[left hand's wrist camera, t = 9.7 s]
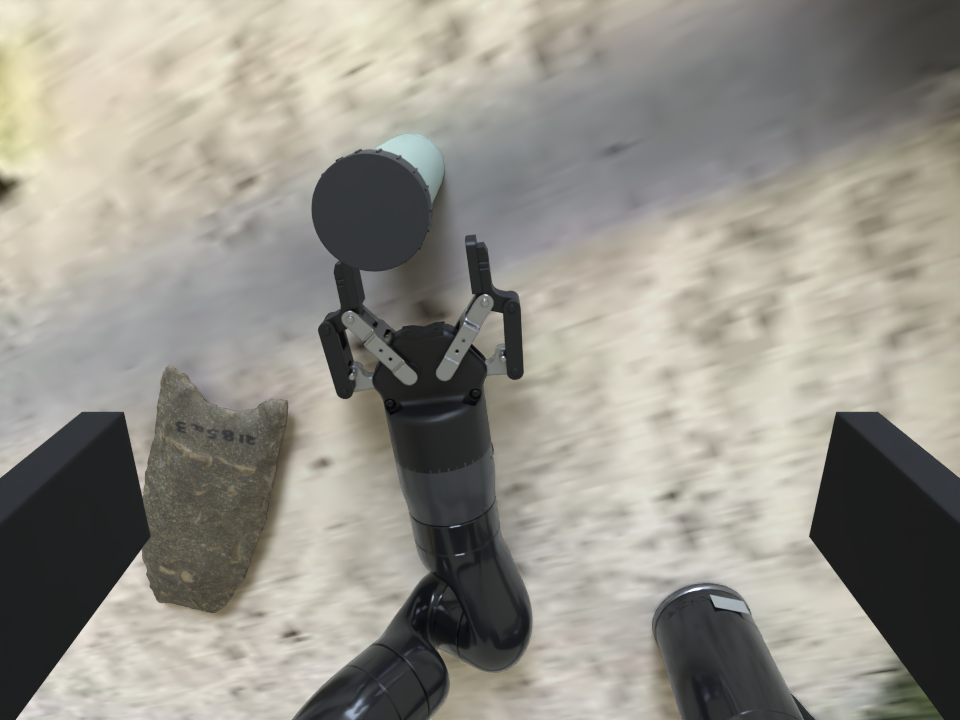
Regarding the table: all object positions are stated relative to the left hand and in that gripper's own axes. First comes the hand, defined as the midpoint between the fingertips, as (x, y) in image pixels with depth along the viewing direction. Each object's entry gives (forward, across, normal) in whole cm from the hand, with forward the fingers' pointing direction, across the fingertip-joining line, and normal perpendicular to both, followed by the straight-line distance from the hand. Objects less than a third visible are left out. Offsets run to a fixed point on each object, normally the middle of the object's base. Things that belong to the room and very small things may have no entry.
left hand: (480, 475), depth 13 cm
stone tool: (+41, +24, +27) cm, 55 cm away
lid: (+22, +5, -1) cm, 22 cm away
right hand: (+35, +5, +3) cm, 35 cm away
